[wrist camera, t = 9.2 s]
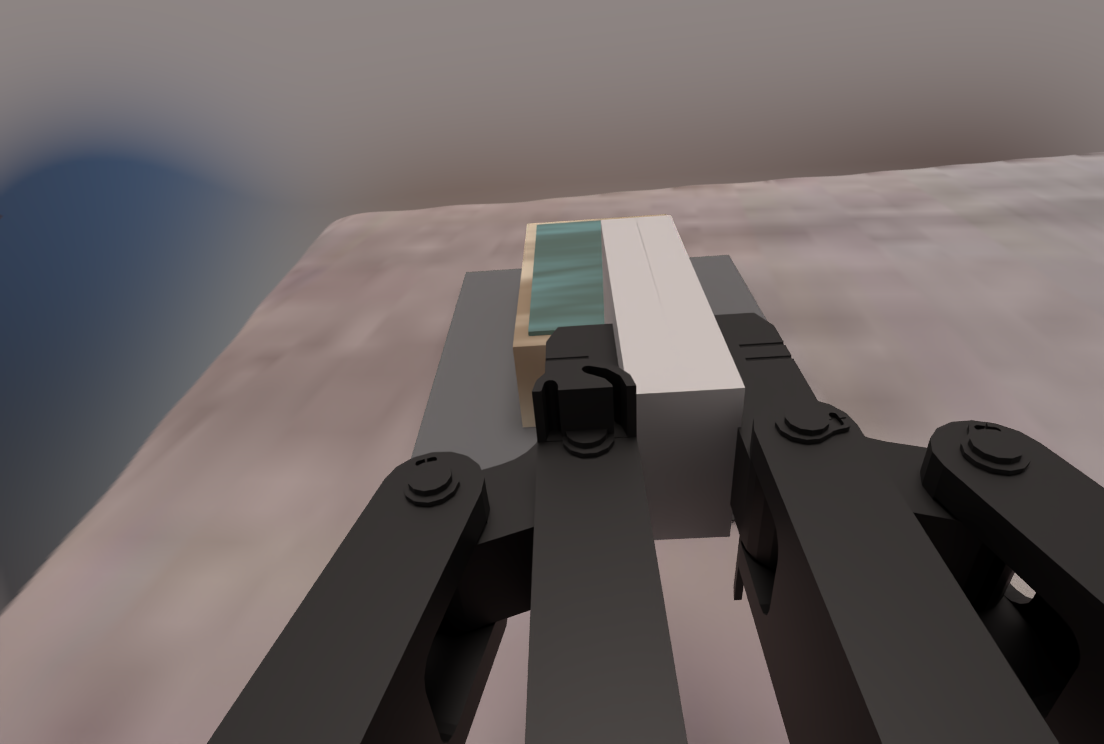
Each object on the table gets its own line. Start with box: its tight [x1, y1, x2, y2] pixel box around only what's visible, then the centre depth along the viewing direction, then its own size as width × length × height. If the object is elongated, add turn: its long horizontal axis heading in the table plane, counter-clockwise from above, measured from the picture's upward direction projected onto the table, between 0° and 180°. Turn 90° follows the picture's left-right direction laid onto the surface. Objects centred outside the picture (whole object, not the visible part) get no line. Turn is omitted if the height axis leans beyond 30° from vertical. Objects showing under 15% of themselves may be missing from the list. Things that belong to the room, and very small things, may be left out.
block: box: [513, 214, 666, 427], centre depth 32 cm, size 4×8×14 cm
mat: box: [411, 255, 767, 520], centre depth 32 cm, size 22×17×1 cm
